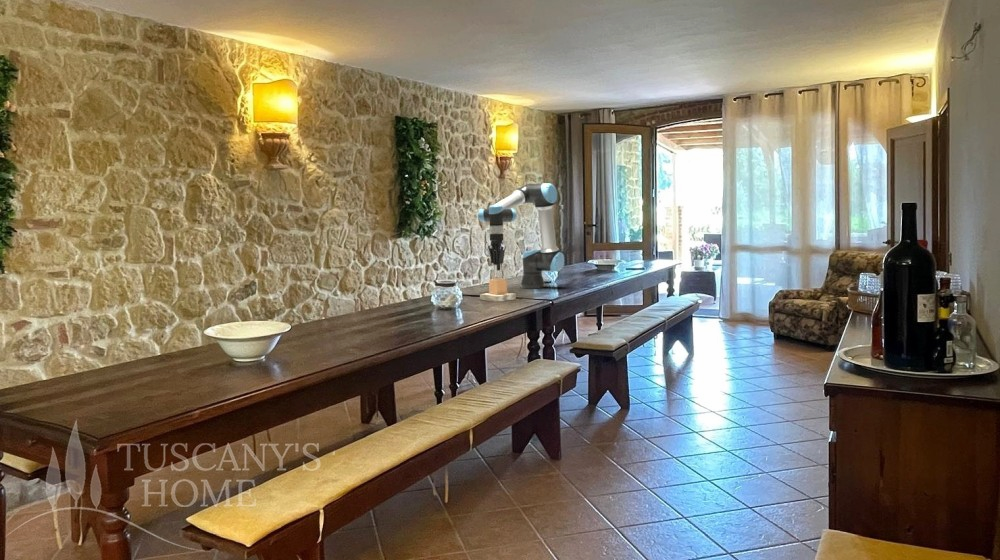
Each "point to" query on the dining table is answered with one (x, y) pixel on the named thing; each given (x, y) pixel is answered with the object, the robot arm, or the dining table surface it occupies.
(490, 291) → the orange block
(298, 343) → the dining table surface
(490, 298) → the hub
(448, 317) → the dining table surface
